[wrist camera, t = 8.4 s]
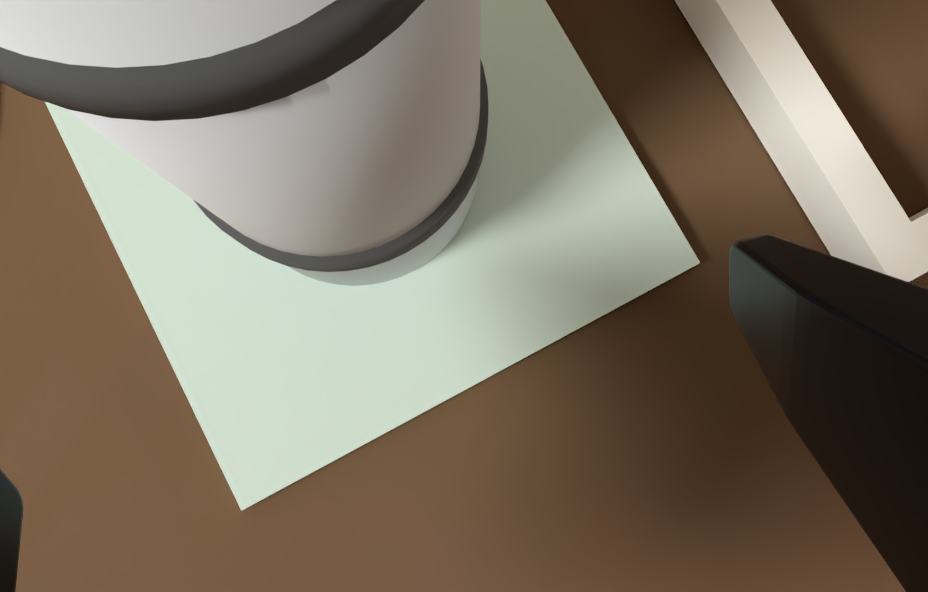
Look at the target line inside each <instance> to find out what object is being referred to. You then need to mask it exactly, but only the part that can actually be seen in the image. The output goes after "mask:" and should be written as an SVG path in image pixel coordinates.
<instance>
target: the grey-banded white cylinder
mask: <svg viewBox="0 0 928 592" xmlns="http://www.w3.org/2000/svg"><path fill="white" fill-rule="evenodd" d="M480 48H481V0H0V82H2V83H4V84H6V85H8V86H10V87H12V88H14V89H16V90H18V91H20V92H22V93H24V94H26V95H28V96H31V97H34V98H37V99H39V100H42V101H45V102H48V103H51V104H54V105H57V106H60V107H63V108H65V109H67V110H68V111H69V112H71V113H72V114H74V115H75V116H77V117H78V118H79V119H81V120H82V121H84V122H85V123H86V124H88V125H89V126H91V127H92V128H93V129H95V130H96V131H98V132H99V133H100V134H102V135H103V136H105V137H106V138H108V139H109V140H110V141H112V142H113V143H115V144H116V145H117V146H119V147H120V148H122V149H123V150H124V151H126V152H127V153H129V154H130V155H131V156H133V157H134V158H136V159H137V160H138V161H140V162H141V163H143V164H144V165H146V166H147V167H148V168H150V169H151V170H153V171H154V172H155V173H157V174H158V175H160V176H161V177H162V178H164V179H165V180H167V181H168V182H169V183H171V184H172V185H174V186H175V187H176V188H178V189H179V190H181V191H182V192H184V193H185V194H186V195H188V196H189V197H191V198H192V199H193V200H194V202H195V203H196V204H197V205H198V206H199V208H200V209H201V210H202V211H203V213H204V214H205V215H206V216H207V217H208V218H209V219H210V220H211V221H212V222H213V223H214V224H215V225H217V226H218V227H219V228H220V229H221V230H222V231H223V232H225V233H226V234H228V235H229V236H231V237H232V238H233V239H235V240H236V241H238V242H239V243H241V244H242V245H244V246H245V247H247V248H248V249H250V250H251V251H253V252H255V253H257V254H259V255H261V256H263V257H265V258H267V259H269V260H272V261H274V262H277V263H280V264H283V265H286V266H288V267H289V268H291V269H293V270H295V271H297V272H299V273H301V274H302V275H304V276H307V277H310V278H313V279H315V280H318V281H322V282H326V283H331V284H336V285H348V286H359V285H371V284H377V283H382V282H387V281H390V280H393V279H396V278H399V277H402V276H404V275H406V274H408V273H410V272H412V271H414V270H416V269H418V268H419V267H421V266H423V265H424V264H426V263H427V262H429V261H430V260H431V259H433V258H434V257H435V256H436V255H437V254H439V253H440V252H441V251H442V250H443V249H444V248H445V247H446V246H447V245H448V244H449V242H450V241H451V240H452V239H453V238H454V236H455V235H456V234H457V232H458V231H459V229H460V228H461V227H462V225H463V223H464V221H465V219H466V217H467V215H468V213H469V212H470V209H471V206H472V203H473V201H474V198H475V194H476V190H477V185H478V179H479V168H480V165H481V163H482V160H483V155H484V150H485V146H486V141H487V129H488V110H489V106H488V88H487V82H486V77H485V72H484V67H483V64H482V61H481V59H480Z"/></svg>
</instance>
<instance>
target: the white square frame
mask: <svg viewBox="0 0 928 592" xmlns="http://www.w3.org/2000/svg"><path fill="white" fill-rule="evenodd" d="M675 2H676V4H677V5H678V7H679V9H680V10H681V12H682V13H683V15H684V17H685V18H686V20H687V22H688V23H689V25H690V27H691V28H692V30H693V31H694V33H695V35H696V36H697V38H698V40H699V41H700V43H701V44H702V46H703V48H704V49H705V51H706V53H707V54H708V56H709V57H710V59H711V61H712V62H713V64H714V66H715V67H716V69H717V70H718V72H719V74H720V75H721V77H722V79H723V80H724V82H725V83H726V85H727V87H728V88H729V90H730V92H731V93H732V95H733V97H734V98H735V100H736V101H737V103H738V105H739V106H740V108H741V110H742V111H743V113H744V114H745V116H746V118H747V119H748V121H749V123H750V124H751V126H752V127H753V129H754V131H755V132H756V134H757V136H758V137H759V139H760V140H761V142H762V144H763V145H764V147H765V149H766V150H767V152H768V153H769V155H770V157H771V158H772V160H773V162H774V163H775V165H776V167H777V168H778V170H779V171H780V173H781V175H782V176H783V178H784V180H785V181H786V183H787V184H788V186H789V188H790V189H791V191H792V193H793V194H794V196H795V197H796V199H797V201H798V202H799V204H800V206H801V207H802V209H803V210H804V212H805V214H806V215H807V217H808V219H809V220H810V222H811V224H812V225H813V227H814V228H815V230H816V232H817V233H818V235H819V237H820V238H821V240H822V241H823V243H824V245H825V246H826V248H827V250H828V251H829V253H830V254H831V256H834V257H837V258H839V259H842V260H845V261H848V262H851V263H854V264H857V265H860V266H863V267H866V268H869V269H872V270H875V271H878V272H880V273H883V274H886V275H889V276H892V277H895V278H898V279H901V280H904V281H907V282H910V281H911V280H913V279H915V278H917V277H919V276H920V275H922V274H924V273H926V272H928V208H926V209H924V210H922V211H921V212H919V213H917V214H915V215H913V216H911V217H910V218H908V216H907V215H906V213H905V212H904V210H903V208H902V207H901V205H900V204H899V202H898V200H897V199H896V197H895V196H894V194H893V193H892V191H891V189H890V188H889V186H888V185H887V183H886V182H885V180H884V178H883V177H882V175H881V174H880V172H879V170H878V169H877V167H876V166H875V164H874V163H873V161H872V159H871V158H870V156H869V155H868V153H867V152H866V150H865V148H864V147H863V145H862V144H861V142H860V140H859V139H858V137H857V136H856V134H855V133H854V131H853V129H852V128H851V126H850V125H849V123H848V122H847V120H846V118H845V117H844V115H843V114H842V112H841V110H840V109H839V107H838V106H837V104H836V103H835V101H834V99H833V98H832V96H831V95H830V93H829V92H828V90H827V88H826V87H825V85H824V84H823V82H822V80H821V79H820V77H819V76H818V74H817V73H816V71H815V69H814V68H813V66H812V65H811V63H810V62H809V60H808V58H807V57H806V55H805V54H804V52H803V50H802V49H801V47H800V46H799V44H798V43H797V41H796V39H795V38H794V36H793V35H792V33H791V32H790V30H789V28H788V27H787V25H786V24H785V22H784V20H783V19H782V17H781V16H780V14H779V13H778V11H777V9H776V8H775V6H774V5H773V3H772V1H771V0H675Z"/></svg>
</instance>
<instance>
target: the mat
mask: <svg viewBox="0 0 928 592" xmlns="http://www.w3.org/2000/svg"><path fill="white" fill-rule="evenodd" d="M480 59H481V61H482V64H483V67H484V72H485V77H486V82H487V88H488V106H489V110H488V129H487V141H486V146H485V150H484V155H483V160H482V163H481V165H480V168H479V179H478V185H477V190H476V194H475V198H474V201H473V203H472V206H471V209H470V212H469V213H468V215H467V217H466V219H465V221H464V223H463V225H462V227H461V228H460V229H459V231H458V232H457V234H456V235H455V236H454V238H453V239H452V240H451V241H450V242H449V244H448V245H447V246H446V247H445V248H444V249H443V250H442V251H441V252H440V253H439V254H437V255H436V256H435V257H434V258H433V259H431V260H430V261H429V262H427V263H426V264H424V265H423V266H421V267H419V268H418V269H416V270H414V271H412V272H410V273H408V274H406V275H404V276H402V277H399V278H396V279H393V280H390V281H387V282H382V283H377V284H371V285H359V286H348V285H336V284H331V283H326V282H322V281H318V280H315V279H313V278H310V277H307V276H304V275H302V274H301V273H299V272H297V271H295V270H293V269H291V268H289V267H288V266H286V265H283V264H280V263H277V262H274V261H272V260H269V259H267V258H265V257H263V256H261V255H259V254H257V253H255V252H253V251H251V250H250V249H248V248H247V247H245V246H244V245H242V244H241V243H239V242H238V241H236V240H235V239H233V238H232V237H231V236H229V235H228V234H226V233H225V232H223V231H222V230H221V229H220V228H219V227H218V226H217V225H215V224H214V223H213V222H212V221H211V220H210V219H209V218H208V217H207V216H206V215H205V214H204V213H203V211H202V210H201V209H200V208H199V206H198V205H197V204H196V203H195V202H194V200H193V199H192V198H191V197H189V196H188V195H186V194H185V193H184V192H182V191H181V190H179V189H178V188H176V187H175V186H174V185H172V184H171V183H169V182H168V181H167V180H165V179H164V178H162V177H161V176H160V175H158V174H157V173H155V172H154V171H153V170H151V169H150V168H148V167H147V166H146V165H144V164H143V163H141V162H140V161H138V160H137V159H136V158H134V157H133V156H131V155H130V154H129V153H127V152H126V151H124V150H123V149H122V148H120V147H119V146H117V145H116V144H115V143H113V142H112V141H110V140H109V139H108V138H106V137H105V136H103V135H102V134H100V133H99V132H98V131H96V130H95V129H93V128H92V127H91V126H89V125H88V124H86V123H85V122H84V121H82V120H81V119H79V118H78V117H77V116H75V115H74V114H72V113H71V112H69V111H68V110H67V109H65V108H63V107H60V106H57V105H54V104H51V103H48V102H45V103H46V105H47V107H48V109H49V111H50V114H51V116H52V118H53V120H54V122H55V124H56V126H57V128H58V130H59V132H60V134H61V136H62V138H63V141H64V143H65V145H66V147H67V149H68V151H69V153H70V155H71V157H72V159H73V161H74V163H75V166H76V168H77V170H78V172H79V174H80V176H81V178H82V180H83V182H84V184H85V186H86V188H87V190H88V193H89V195H90V197H91V199H92V201H93V203H94V205H95V207H96V209H97V211H98V213H99V215H100V218H101V220H102V222H103V224H104V226H105V228H106V230H107V232H108V234H109V236H110V238H111V240H112V242H113V245H114V247H115V249H116V251H117V253H118V255H119V257H120V259H121V261H122V263H123V265H124V267H125V270H126V272H127V274H128V276H129V278H130V280H131V282H132V284H133V286H134V288H135V290H136V292H137V294H138V297H139V299H140V301H141V303H142V305H143V307H144V309H145V311H146V313H147V315H148V317H149V319H150V322H151V324H152V326H153V328H154V330H155V332H156V334H157V336H158V338H159V340H160V342H161V344H162V346H163V349H164V351H165V353H166V355H167V357H168V359H169V361H170V363H171V365H172V367H173V369H174V371H175V374H176V376H177V378H178V380H179V382H180V384H181V386H182V388H183V390H184V392H185V394H186V396H187V398H188V401H189V403H190V405H191V407H192V409H193V411H194V413H195V415H196V417H197V419H198V421H199V423H200V426H201V428H202V430H203V432H204V434H205V436H206V438H207V440H208V442H209V444H210V446H211V448H212V450H213V453H214V455H215V457H216V459H217V461H218V463H219V465H220V467H221V469H222V471H223V473H224V475H225V478H226V480H227V482H228V484H229V486H230V488H231V490H232V492H233V494H234V496H235V498H236V500H237V502H238V505H239V507H240V509H241V511H242V510H244V509H246V508H248V507H250V506H251V505H253V504H255V503H257V502H259V501H261V500H263V499H264V498H266V497H268V496H270V495H272V494H274V493H276V492H277V491H279V490H281V489H283V488H285V487H287V486H288V485H290V484H292V483H294V482H296V481H298V480H300V479H301V478H303V477H305V476H307V475H309V474H311V473H313V472H314V471H316V470H318V469H320V468H322V467H324V466H326V465H327V464H329V463H331V462H333V461H335V460H337V459H338V458H340V457H342V456H344V455H346V454H348V453H350V452H351V451H353V450H355V449H357V448H359V447H361V446H363V445H364V444H366V443H368V442H370V441H372V440H374V439H375V438H377V437H379V436H381V435H383V434H385V433H387V432H388V431H390V430H392V429H394V428H396V427H398V426H400V425H401V424H403V423H405V422H407V421H409V420H411V419H413V418H414V417H416V416H418V415H420V414H422V413H424V412H425V411H427V410H429V409H431V408H433V407H435V406H437V405H438V404H440V403H442V402H444V401H446V400H448V399H450V398H451V397H453V396H455V395H457V394H459V393H461V392H462V391H464V390H466V389H468V388H470V387H472V386H474V385H475V384H477V383H479V382H481V381H483V380H485V379H487V378H488V377H490V376H492V375H494V374H496V373H498V372H500V371H501V370H503V369H505V368H507V367H509V366H511V365H512V364H514V363H516V362H518V361H520V360H522V359H524V358H525V357H527V356H529V355H531V354H533V353H535V352H537V351H538V350H540V349H542V348H544V347H546V346H548V345H549V344H551V343H553V342H555V341H557V340H559V339H561V338H562V337H564V336H566V335H568V334H570V333H572V332H574V331H575V330H577V329H579V328H581V327H583V326H585V325H587V324H588V323H590V322H592V321H594V320H596V319H598V318H599V317H601V316H603V315H605V314H607V313H609V312H611V311H612V310H614V309H616V308H618V307H620V306H622V305H624V304H625V303H627V302H629V301H631V300H633V299H635V298H636V297H638V296H640V295H642V294H644V293H646V292H648V291H649V290H651V289H653V288H655V287H657V286H659V285H661V284H662V283H664V282H666V281H668V280H670V279H672V278H674V277H675V276H677V275H679V274H681V273H683V272H685V271H686V270H688V269H690V268H692V267H694V266H696V265H697V264H699V263H700V262H699V260H698V258H697V256H696V255H695V253H694V251H693V250H692V248H691V246H690V245H689V243H688V241H687V240H686V238H685V236H684V234H683V233H682V231H681V229H680V228H679V226H678V224H677V223H676V221H675V219H674V217H673V216H672V214H671V212H670V211H669V209H668V207H667V206H666V204H665V202H664V200H663V199H662V197H661V195H660V194H659V192H658V190H657V189H656V187H655V185H654V183H653V182H652V180H651V178H650V177H649V175H648V173H647V172H646V170H645V168H644V166H643V165H642V163H641V161H640V160H639V158H638V156H637V155H636V153H635V151H634V149H633V148H632V146H631V144H630V143H629V141H628V139H627V138H626V136H625V134H624V133H623V131H622V129H621V127H620V126H619V124H618V122H617V121H616V119H615V117H614V116H613V114H612V112H611V110H610V109H609V107H608V105H607V104H606V102H605V100H604V99H603V97H602V95H601V93H600V92H599V90H598V88H597V87H596V85H595V83H594V82H593V80H592V78H591V76H590V75H589V73H588V71H587V70H586V68H585V66H584V65H583V63H582V61H581V59H580V58H579V56H578V54H577V53H576V51H575V49H574V48H573V46H572V44H571V43H570V41H569V39H568V37H567V36H566V34H565V32H564V31H563V29H562V27H561V26H560V24H559V22H558V20H557V19H556V17H555V15H554V14H553V12H552V10H551V9H550V7H549V5H548V3H547V2H546V0H481V48H480Z"/></svg>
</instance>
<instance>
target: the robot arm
mask: <svg viewBox="0 0 928 592" xmlns="http://www.w3.org/2000/svg"><path fill="white" fill-rule="evenodd" d="M729 302H730V307H731V311H732V313H733V316H734V318H735V320H736V322H737V324H738V326H739V328H740V330H741V332H742V333H743V335H744V337H745V339H746V341H747V343H748V345H749V347H750V349H751V351H752V353H753V354H754V356H755V358H756V360H757V362H758V364H759V366H760V368H761V370H762V372H763V374H764V375H765V377H766V379H767V381H768V383H769V385H770V387H771V389H772V391H773V393H774V395H775V396H776V398H777V400H778V402H779V404H780V406H781V408H782V409H783V411H784V413H785V415H786V416H787V418H788V420H789V421H790V423H791V424H792V426H793V427H794V429H795V431H796V432H797V434H798V435H799V437H800V438H801V440H802V441H803V442H804V444H805V445H806V447H807V448H808V450H809V451H810V453H811V454H812V456H813V457H814V458H815V460H816V461H817V463H818V464H819V466H820V467H821V469H822V470H823V472H824V473H825V474H826V476H827V477H828V479H829V480H830V482H831V483H832V485H833V486H834V488H835V489H836V490H837V492H838V493H839V495H840V496H841V498H842V499H843V501H844V502H845V504H846V505H847V506H848V508H849V509H850V511H851V512H852V514H853V515H854V517H855V518H856V520H857V521H858V522H859V524H860V525H861V527H862V528H863V530H864V531H865V533H866V534H867V536H868V537H869V538H870V540H871V541H872V543H873V544H874V546H875V547H876V549H877V550H878V552H879V553H880V554H881V556H882V557H883V559H884V560H885V562H886V563H887V565H888V566H889V568H890V569H891V570H892V572H893V573H894V575H895V576H896V578H897V579H898V581H899V582H900V584H901V585H902V586H903V588H904V589H905V591H906V592H928V289H927V288H924V287H921V286H918V285H916V284H913V283H910V282H907V281H904V280H901V279H898V278H895V277H892V276H889V275H886V274H883V273H880V272H878V271H875V270H872V269H869V268H866V267H863V266H860V265H857V264H854V263H851V262H848V261H845V260H842V259H839V258H837V257H834V256H831V255H828V254H825V253H822V252H819V251H816V250H813V249H810V248H807V247H804V246H801V245H799V244H796V243H793V242H790V241H787V240H784V239H781V238H778V237H775V236H772V235H768V234H762V235H758V236H754V237H750V238H747V239H743V240H739V241H736V242H735V243H734V244H733V245H732V246H731V249H730V254H729ZM22 518H23V502H22V498H21V495H20V493H19V491H18V490H17V488H16V487H15V486H14V484H13V483H12V482H11V481H10V480H9V479H8V477H7V476H6V475H5V474H4V473H3V471H2V470H1V469H0V592H15V589H16V579H17V569H18V559H19V549H20V538H21V528H22Z"/></svg>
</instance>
